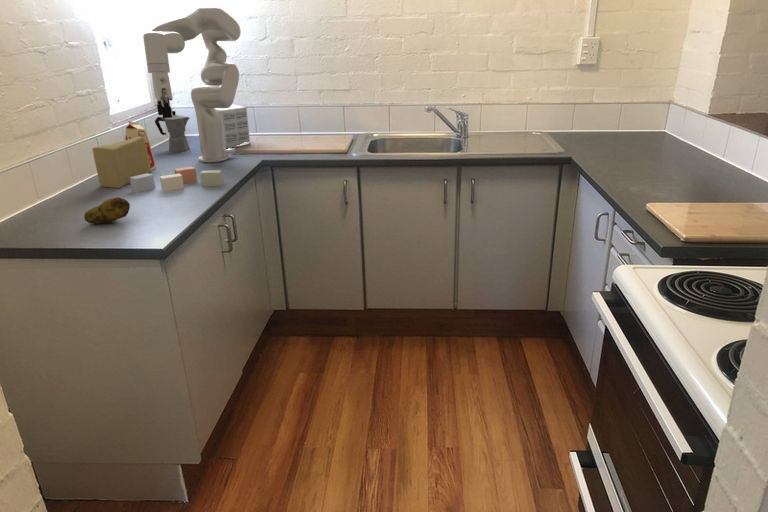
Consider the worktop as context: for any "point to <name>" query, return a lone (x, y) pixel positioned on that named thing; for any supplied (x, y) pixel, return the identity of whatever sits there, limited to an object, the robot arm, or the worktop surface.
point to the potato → (108, 211)
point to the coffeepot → (175, 132)
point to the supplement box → (234, 125)
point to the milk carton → (139, 131)
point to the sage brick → (211, 178)
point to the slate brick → (142, 182)
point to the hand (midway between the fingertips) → (165, 116)
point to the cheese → (121, 162)
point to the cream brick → (171, 182)
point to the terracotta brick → (187, 174)
